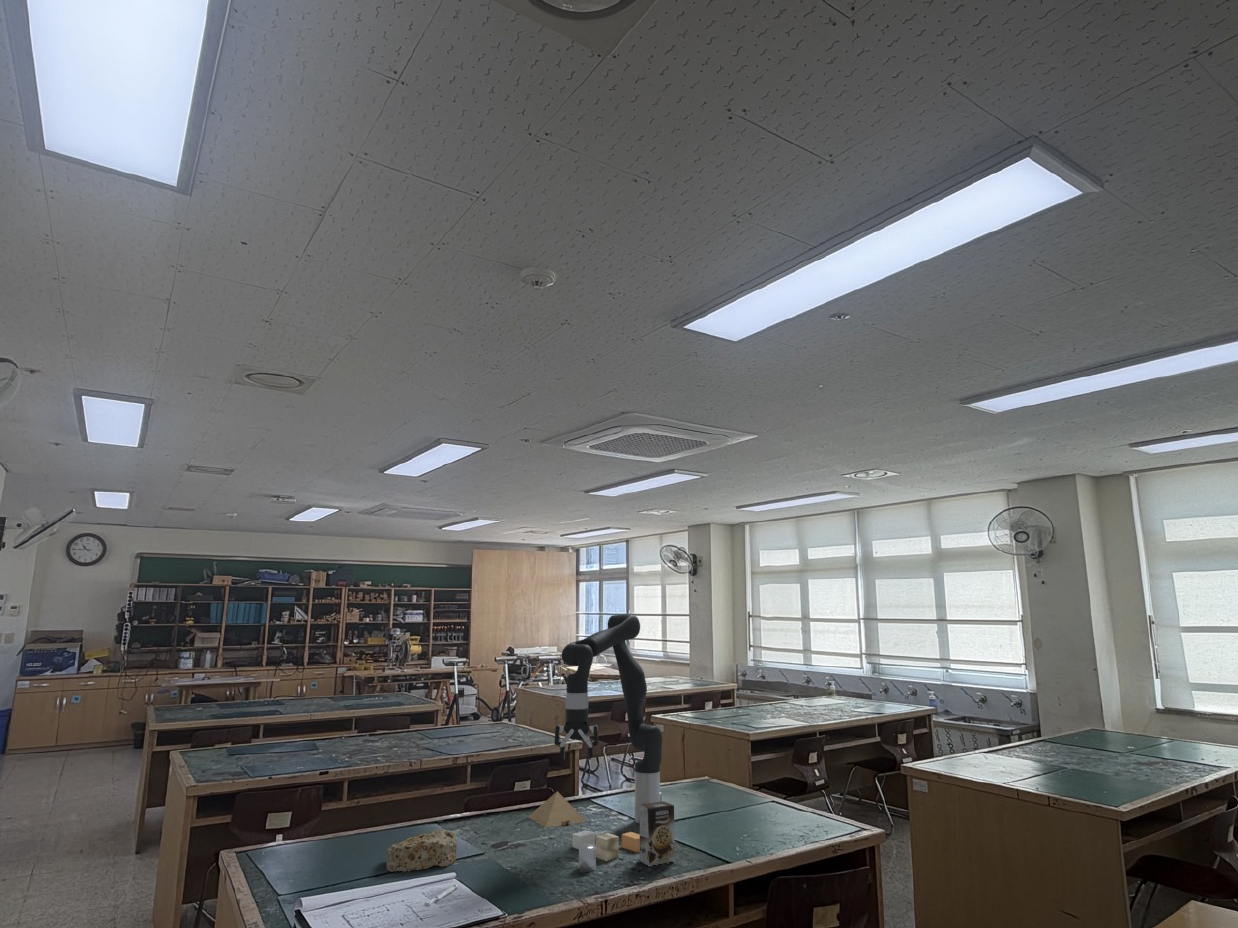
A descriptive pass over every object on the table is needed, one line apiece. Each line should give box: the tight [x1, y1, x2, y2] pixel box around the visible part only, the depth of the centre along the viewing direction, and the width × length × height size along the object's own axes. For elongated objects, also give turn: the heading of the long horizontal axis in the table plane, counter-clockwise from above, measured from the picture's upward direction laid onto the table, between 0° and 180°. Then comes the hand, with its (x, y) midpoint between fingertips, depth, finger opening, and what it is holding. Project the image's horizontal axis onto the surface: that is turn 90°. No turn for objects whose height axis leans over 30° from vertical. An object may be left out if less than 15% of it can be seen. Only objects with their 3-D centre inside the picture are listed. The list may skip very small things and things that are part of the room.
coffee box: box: [639, 800, 675, 867], centre depth 214 cm, size 9×6×16 cm
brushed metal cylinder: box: [578, 844, 597, 873], centre depth 207 cm, size 5×5×6 cm
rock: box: [385, 828, 457, 872], centre depth 211 cm, size 21×14×10 cm
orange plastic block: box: [621, 831, 640, 853], centre depth 225 cm, size 4×7×4 cm, turn 42°
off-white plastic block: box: [572, 830, 596, 850], centre depth 227 cm, size 6×4×4 cm, turn 131°
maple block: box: [595, 832, 620, 862], centre depth 217 cm, size 5×5×6 cm
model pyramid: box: [528, 791, 587, 828], centre depth 258 cm, size 17×17×10 cm
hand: (576, 759), depth 227 cm, fingers open, 8 cm apart
